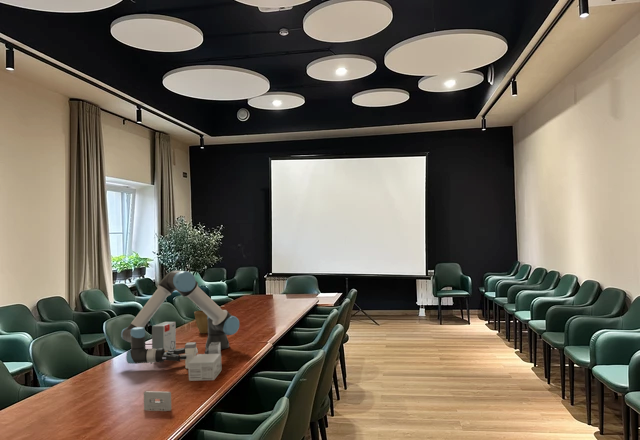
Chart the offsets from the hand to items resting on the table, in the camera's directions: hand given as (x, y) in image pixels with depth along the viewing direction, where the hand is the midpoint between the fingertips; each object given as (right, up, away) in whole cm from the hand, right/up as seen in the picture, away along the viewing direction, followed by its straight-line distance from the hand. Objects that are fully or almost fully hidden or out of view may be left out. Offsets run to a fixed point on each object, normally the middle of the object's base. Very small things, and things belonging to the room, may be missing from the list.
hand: (195, 353), depth 265 cm
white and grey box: (0, -7, 0) cm, 7 cm away
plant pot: (-18, -11, +96) cm, 98 cm away
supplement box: (+10, -7, -18) cm, 21 cm away
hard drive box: (-26, -9, +25) cm, 37 cm away
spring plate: (+7, -7, 0) cm, 10 cm away
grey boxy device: (+9, -7, 0) cm, 11 cm away
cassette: (+1, -6, -66) cm, 66 cm away
